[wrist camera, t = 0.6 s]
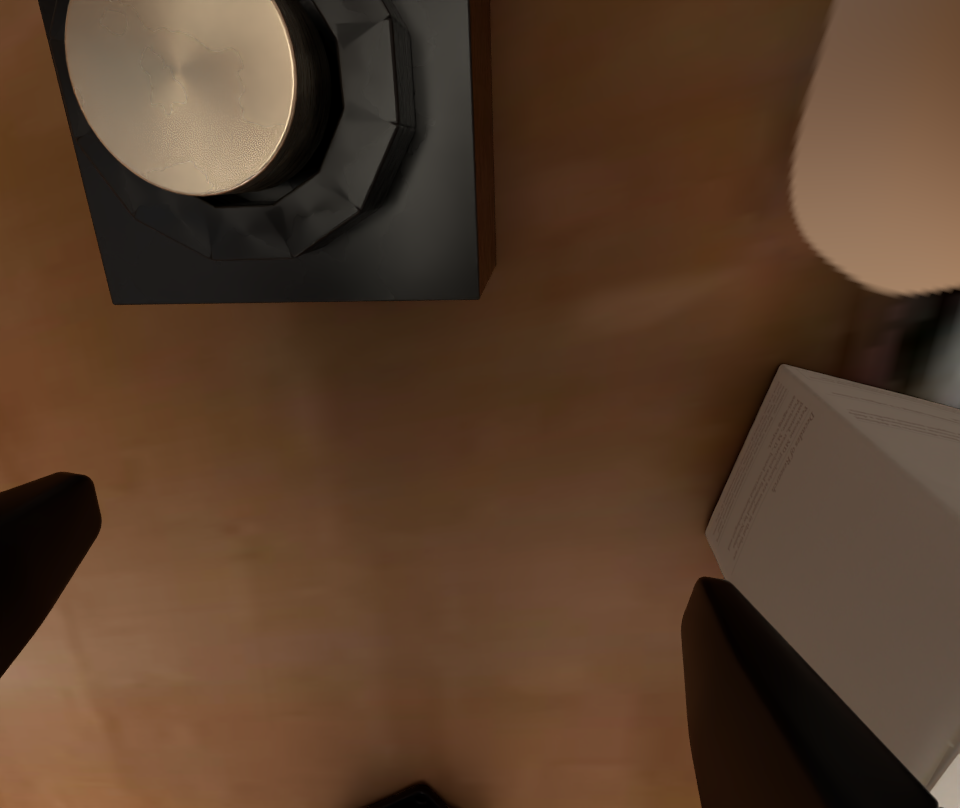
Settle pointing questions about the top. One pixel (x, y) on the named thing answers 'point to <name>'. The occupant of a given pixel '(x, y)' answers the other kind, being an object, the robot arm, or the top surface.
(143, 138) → the knob
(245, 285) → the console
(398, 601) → the top surface
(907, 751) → the white packaging box
